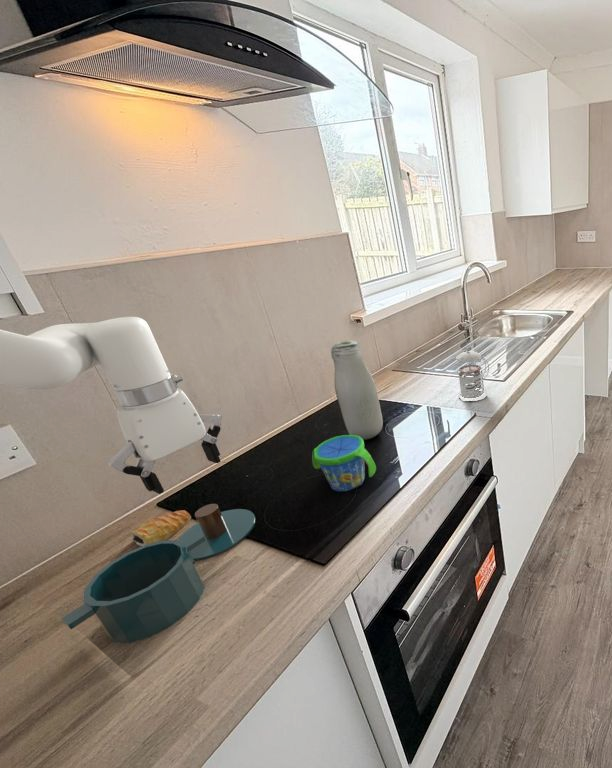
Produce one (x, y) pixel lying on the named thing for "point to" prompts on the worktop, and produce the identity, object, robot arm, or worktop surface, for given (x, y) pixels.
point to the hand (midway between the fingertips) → (187, 475)
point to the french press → (469, 389)
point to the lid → (219, 530)
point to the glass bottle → (356, 391)
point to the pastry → (160, 528)
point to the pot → (143, 591)
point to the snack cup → (343, 461)
